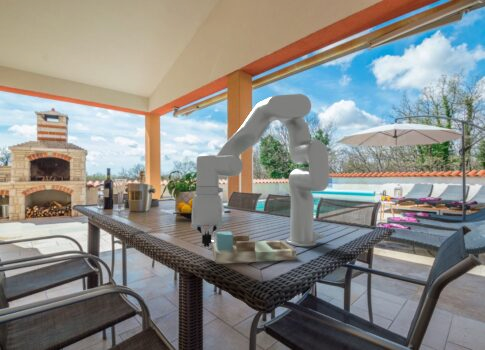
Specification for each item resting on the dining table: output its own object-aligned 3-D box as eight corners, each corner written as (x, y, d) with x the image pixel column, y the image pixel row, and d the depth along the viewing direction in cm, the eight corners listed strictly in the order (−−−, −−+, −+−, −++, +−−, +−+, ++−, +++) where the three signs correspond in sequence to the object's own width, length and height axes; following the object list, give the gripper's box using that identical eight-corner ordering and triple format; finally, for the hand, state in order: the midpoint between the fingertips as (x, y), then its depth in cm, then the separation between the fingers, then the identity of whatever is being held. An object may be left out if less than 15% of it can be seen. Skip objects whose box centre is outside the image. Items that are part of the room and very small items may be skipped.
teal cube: (230, 245, 87) (230, 231, 87) (232, 249, 82) (233, 234, 82) (216, 246, 86) (216, 231, 86) (217, 250, 81) (218, 235, 81)
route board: (282, 248, 95) (282, 232, 95) (296, 259, 83) (296, 241, 83) (212, 251, 90) (212, 234, 90) (215, 263, 77) (216, 244, 77)
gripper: (227, 190, 88) (226, 241, 88) (184, 190, 85) (184, 243, 85) (231, 192, 81) (230, 248, 81) (184, 192, 78) (183, 250, 78)
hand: (206, 245), depth 83 cm, fingers closed
